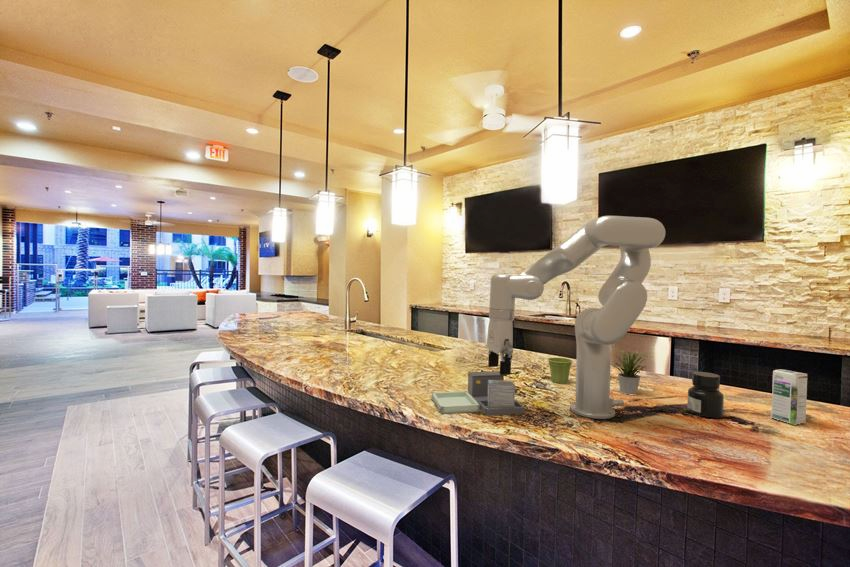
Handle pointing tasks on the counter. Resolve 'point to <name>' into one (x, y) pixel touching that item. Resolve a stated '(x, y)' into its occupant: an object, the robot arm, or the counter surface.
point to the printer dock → (480, 393)
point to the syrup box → (789, 396)
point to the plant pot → (559, 369)
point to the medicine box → (501, 394)
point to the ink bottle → (705, 395)
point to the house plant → (629, 372)
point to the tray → (455, 402)
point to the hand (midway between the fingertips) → (498, 370)
